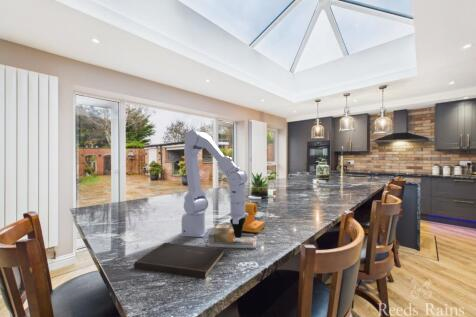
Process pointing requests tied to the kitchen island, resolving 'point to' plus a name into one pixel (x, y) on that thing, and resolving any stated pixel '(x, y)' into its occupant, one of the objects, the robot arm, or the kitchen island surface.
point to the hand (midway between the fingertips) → (238, 237)
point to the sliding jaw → (230, 236)
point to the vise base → (242, 242)
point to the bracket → (252, 219)
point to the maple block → (221, 232)
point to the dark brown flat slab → (180, 260)
